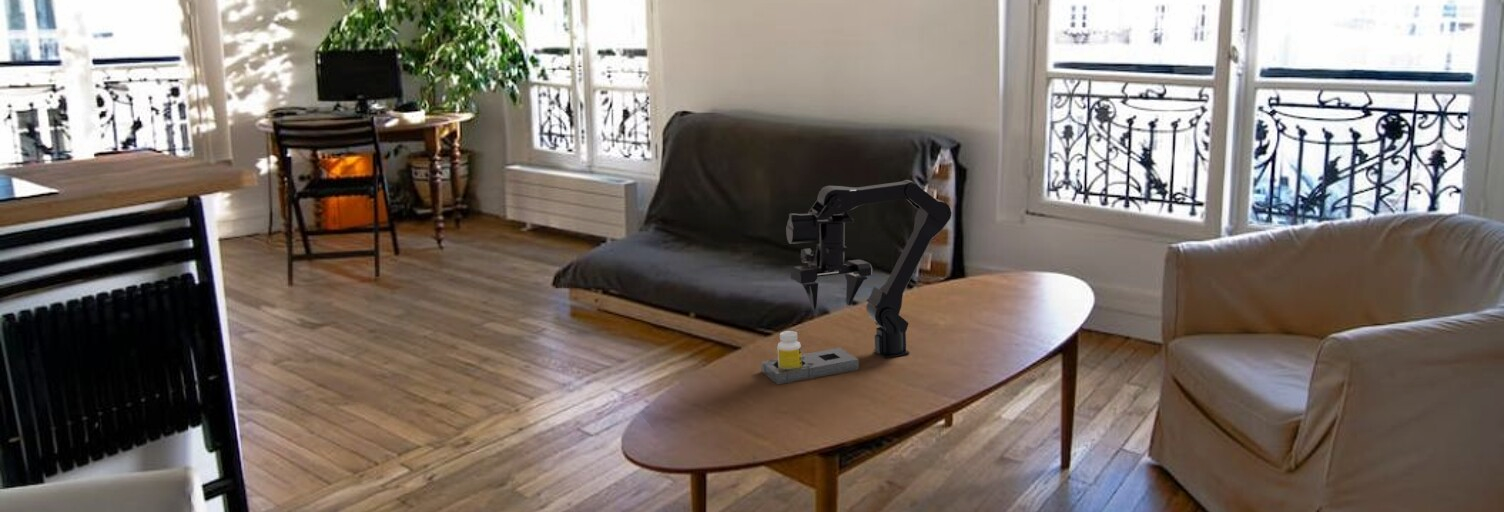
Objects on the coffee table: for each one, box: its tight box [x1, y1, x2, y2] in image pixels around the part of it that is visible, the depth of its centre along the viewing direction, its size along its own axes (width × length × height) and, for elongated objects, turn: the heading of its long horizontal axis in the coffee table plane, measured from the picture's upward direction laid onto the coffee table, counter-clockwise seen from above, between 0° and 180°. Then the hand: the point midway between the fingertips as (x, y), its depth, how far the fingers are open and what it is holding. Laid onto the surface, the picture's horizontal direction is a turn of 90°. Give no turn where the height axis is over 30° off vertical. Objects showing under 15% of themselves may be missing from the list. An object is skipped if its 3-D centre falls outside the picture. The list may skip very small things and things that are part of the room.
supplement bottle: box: [776, 330, 802, 369], centre depth 269 cm, size 5×5×10 cm
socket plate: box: [760, 347, 860, 385], centre depth 271 cm, size 20×10×2 cm, turn 110°
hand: (831, 307), depth 275 cm, fingers open, 9 cm apart
